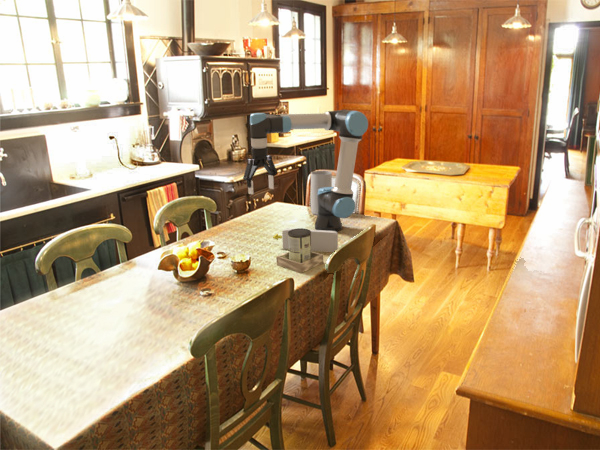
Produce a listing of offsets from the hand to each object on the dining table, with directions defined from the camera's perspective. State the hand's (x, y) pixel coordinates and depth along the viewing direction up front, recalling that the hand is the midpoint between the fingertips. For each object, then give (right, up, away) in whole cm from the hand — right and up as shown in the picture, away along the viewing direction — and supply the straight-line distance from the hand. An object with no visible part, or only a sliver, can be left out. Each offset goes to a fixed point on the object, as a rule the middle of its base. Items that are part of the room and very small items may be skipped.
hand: (261, 191), depth 234 cm
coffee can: (+19, -33, -13) cm, 40 cm away
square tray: (+19, -34, -13) cm, 41 cm away
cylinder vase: (+32, -9, +66) cm, 74 cm away
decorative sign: (+21, -28, +5) cm, 36 cm away
